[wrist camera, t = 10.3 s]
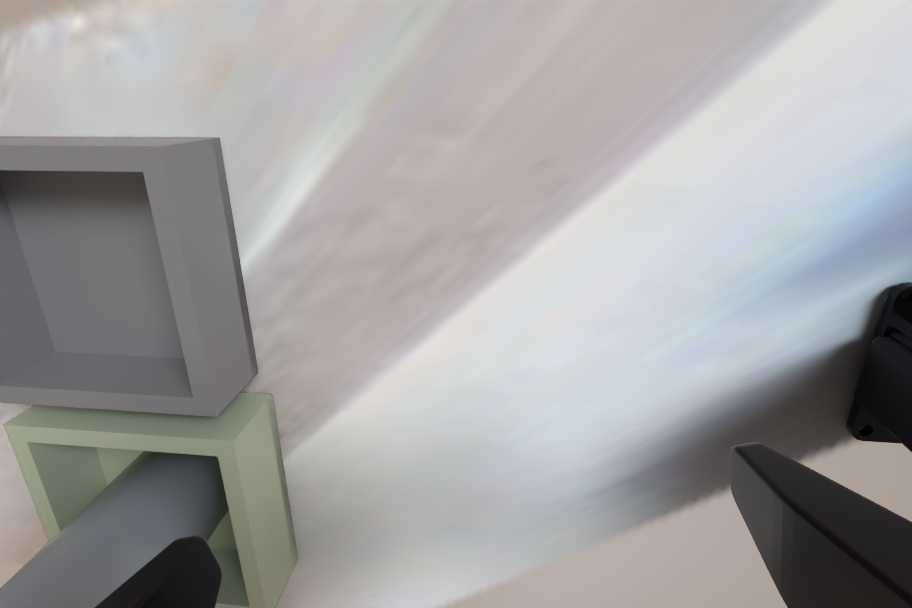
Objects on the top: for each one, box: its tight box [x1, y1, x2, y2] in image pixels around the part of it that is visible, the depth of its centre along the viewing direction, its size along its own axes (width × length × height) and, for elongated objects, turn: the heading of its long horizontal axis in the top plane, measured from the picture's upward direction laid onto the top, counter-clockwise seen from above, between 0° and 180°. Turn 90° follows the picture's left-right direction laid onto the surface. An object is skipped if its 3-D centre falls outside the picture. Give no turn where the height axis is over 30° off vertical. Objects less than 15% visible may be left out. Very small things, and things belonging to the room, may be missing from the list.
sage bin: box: [4, 392, 298, 608], centre depth 25 cm, size 10×10×4 cm
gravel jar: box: [0, 451, 229, 608], centre depth 20 cm, size 5×5×12 cm
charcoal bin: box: [0, 137, 258, 417], centre depth 21 cm, size 10×10×4 cm
